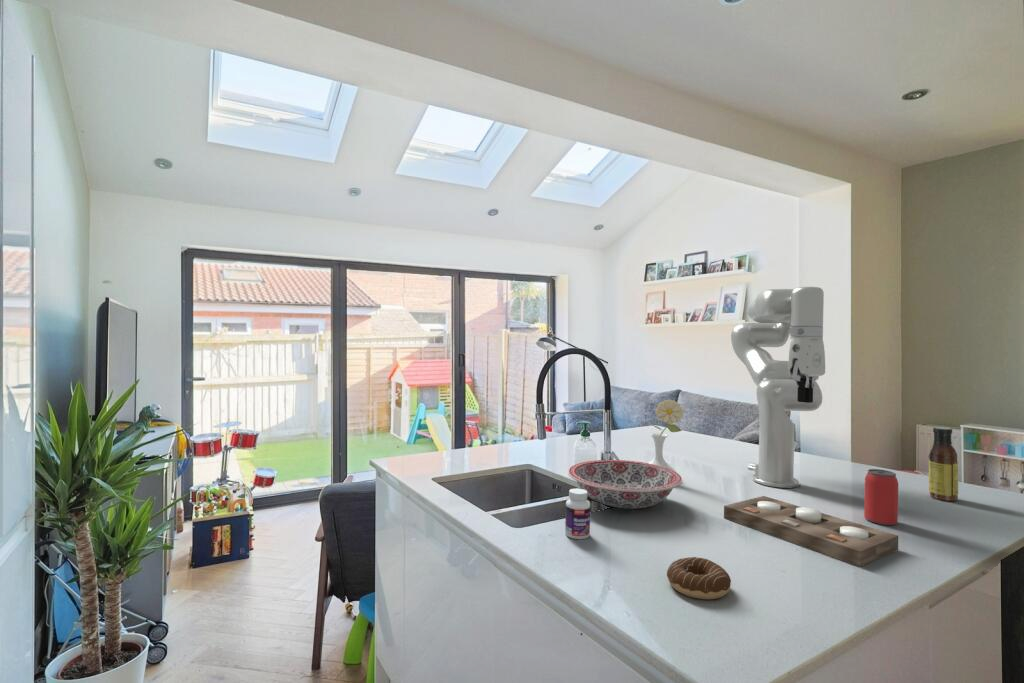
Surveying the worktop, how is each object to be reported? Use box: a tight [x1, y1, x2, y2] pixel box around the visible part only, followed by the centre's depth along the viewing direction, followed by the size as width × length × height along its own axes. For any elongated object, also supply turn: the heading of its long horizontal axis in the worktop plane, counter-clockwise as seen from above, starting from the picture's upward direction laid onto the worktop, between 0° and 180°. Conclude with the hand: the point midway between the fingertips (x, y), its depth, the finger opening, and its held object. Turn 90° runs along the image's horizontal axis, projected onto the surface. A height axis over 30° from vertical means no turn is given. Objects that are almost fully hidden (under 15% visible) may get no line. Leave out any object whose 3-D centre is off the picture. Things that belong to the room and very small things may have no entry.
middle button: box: [796, 506, 822, 524], centre depth 115 cm, size 5×5×2 cm
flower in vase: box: [648, 398, 685, 473], centre depth 156 cm, size 13×11×25 cm
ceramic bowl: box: [567, 459, 683, 510], centre depth 133 cm, size 29×29×8 cm
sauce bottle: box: [928, 426, 959, 502], centre depth 141 cm, size 7×6×20 cm
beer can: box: [863, 468, 899, 526], centre depth 123 cm, size 7×7×12 cm
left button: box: [757, 501, 780, 512], centre depth 124 cm, size 5×5×2 cm
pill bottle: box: [564, 488, 591, 540], centre depth 111 cm, size 5×5×10 cm
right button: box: [840, 526, 868, 540], centre depth 107 cm, size 5×5×2 cm
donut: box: [666, 556, 732, 600], centre depth 89 cm, size 11×11×4 cm
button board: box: [723, 495, 899, 568], centre depth 115 cm, size 30×16×3 cm, turn 31°
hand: (805, 401), depth 135 cm, fingers closed
